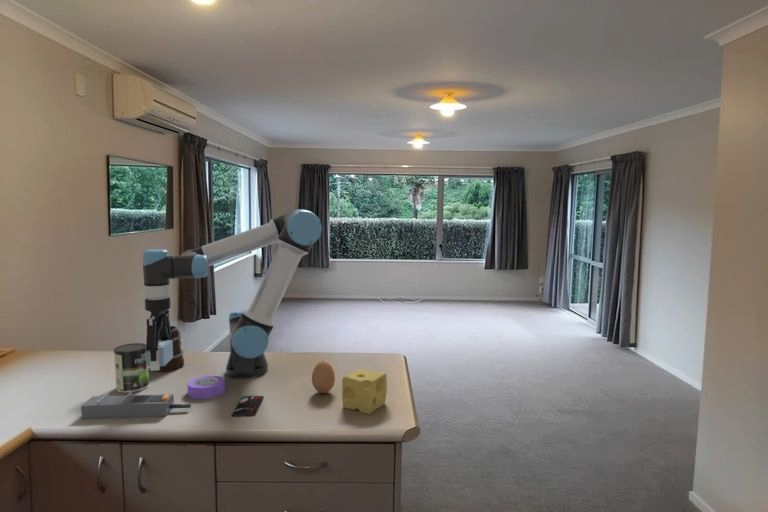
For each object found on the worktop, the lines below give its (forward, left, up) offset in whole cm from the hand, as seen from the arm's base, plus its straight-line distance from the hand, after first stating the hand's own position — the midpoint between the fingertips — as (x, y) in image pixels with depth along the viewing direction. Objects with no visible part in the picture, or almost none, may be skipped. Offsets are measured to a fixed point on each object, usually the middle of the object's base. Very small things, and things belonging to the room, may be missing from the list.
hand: (160, 365), depth 168 cm
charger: (0, 0, +1) cm, 1 cm away
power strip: (+2, +14, -10) cm, 17 cm away
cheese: (-66, +14, -10) cm, 68 cm away
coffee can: (+12, -7, -10) cm, 17 cm away
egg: (-53, +3, -10) cm, 54 cm away
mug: (+7, -30, -10) cm, 32 cm away
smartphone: (-30, +12, -10) cm, 34 cm away
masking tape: (-14, -1, -10) cm, 18 cm away
